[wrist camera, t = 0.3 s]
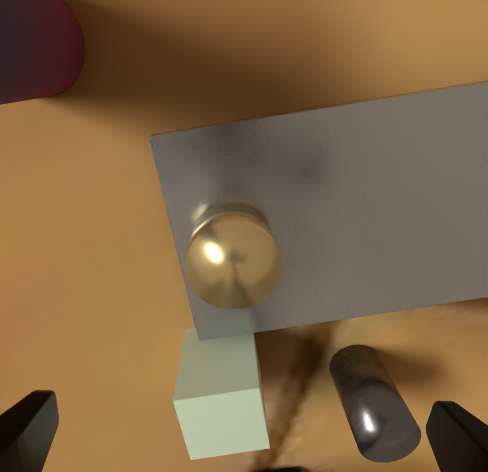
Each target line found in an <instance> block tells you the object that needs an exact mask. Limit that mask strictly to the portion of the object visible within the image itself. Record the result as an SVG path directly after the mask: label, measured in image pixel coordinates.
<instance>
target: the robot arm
mask: <svg viewBox="0 0 488 472" xmlns="http://www.w3.org/2000/svg"><path fill="white" fill-rule="evenodd" d="M58 422H59V415H58V408H57V400H56V395H55V393H54V391H51V390H36V391H33V392H31V393H30V394H29V395H27V396H26V397H24V398H23V399H22V400H20V401H19V402H18V403H16V404H15V405H13V406H12V407H11V408H9V409H8V410H7V411H5V412H4V413H2V414H1V415H0V472H42V469H43V466H44V463H45V461H46V458H47V455H48V452H49V450H50V447H51V444H52V441H53V439H54V436H55V433H56V430H57V427H58ZM426 433H427V437H428V440H429V442H430V445H431V448H432V450H433V453H434V455H435V458H436V461H437V463H438V466H439V469H440V471H441V472H488V425H487V424H485V423H484V422H482V421H481V420H479V419H478V418H477V417H475V416H474V415H472V414H471V413H469V412H468V411H467V410H465V409H464V408H462V407H461V406H460V405H458V404H457V403H455V402H452V401H436V402H435V403H434V405H433V407H432V410H431V413H430V416H429V418H428V421H427V424H426ZM275 472H302V471H301V470H300V469H298V468H295V469H288V470H281V471H275Z"/></svg>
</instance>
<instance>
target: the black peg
mask: <svg viewBox="0 0 488 472" xmlns="http://www.w3.org/2000/svg"><path fill="white" fill-rule="evenodd" d="M329 370H330V374H331V376H332V379H333V382H334V384H335V387H336V390H337V392H338V395H339V398H340V400H341V403H342V406H343V409H344V411H345V414H346V417H347V419H348V422H349V425H350V427H351V430H352V433H353V435H354V438H355V441H356V443H357V446H358V449H359V451H360V453H361V454H362V455H363V456H364V457H365V458H367V459H368V460H371V461H374V462H392V461H396V460H399V459H401V458H403V457H405V456H407V455H409V454H410V453H411V452H412V451H414V449H415V448H416V447H417V446H418V444H419V442H420V439H421V431H420V428H419V426H418V425H417V423H416V421H415V419H414V418H413V416H412V414H411V413H410V411H409V409H408V407H407V406H406V404H405V402H404V400H403V399H402V397H401V395H400V393H399V392H398V390H397V388H396V387H395V385H394V383H393V381H392V380H391V378H390V376H389V374H388V373H387V371H386V369H385V367H384V366H383V364H382V362H381V361H380V359H379V357H378V355H377V354H376V352H375V351H374V350H373V349H371V348H370V347H367V346H364V345H351V346H348V347H345V348H343V349H341V350H340V351H338V352H337V353H336V354H335V355H334V356H333V358H332V359H331V361H330V365H329Z"/></svg>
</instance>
